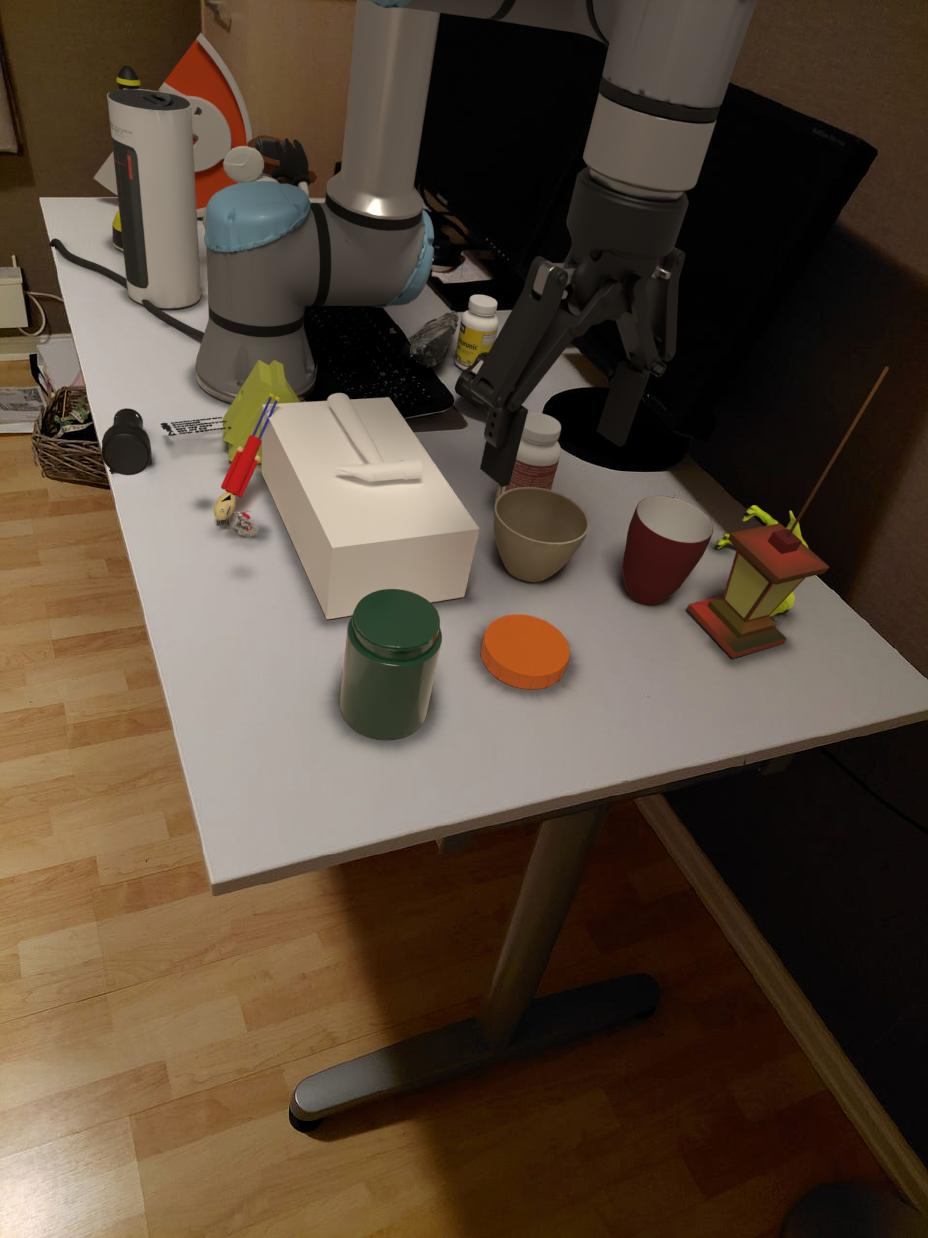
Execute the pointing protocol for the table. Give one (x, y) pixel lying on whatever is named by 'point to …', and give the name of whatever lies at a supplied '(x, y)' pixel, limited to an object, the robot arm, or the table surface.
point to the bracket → (255, 404)
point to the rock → (434, 339)
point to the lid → (525, 651)
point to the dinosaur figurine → (767, 520)
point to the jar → (389, 663)
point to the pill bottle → (536, 454)
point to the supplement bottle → (476, 330)
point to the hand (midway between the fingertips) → (555, 456)
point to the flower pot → (537, 531)
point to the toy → (250, 164)
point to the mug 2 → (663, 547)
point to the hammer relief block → (364, 502)
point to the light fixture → (762, 580)
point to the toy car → (466, 381)
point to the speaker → (156, 195)
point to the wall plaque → (203, 119)
